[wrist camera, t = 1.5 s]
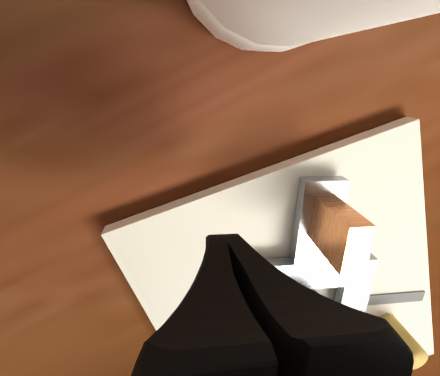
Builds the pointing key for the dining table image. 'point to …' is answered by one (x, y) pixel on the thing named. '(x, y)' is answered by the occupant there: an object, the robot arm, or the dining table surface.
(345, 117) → the dining table surface
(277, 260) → the grey metal bracket
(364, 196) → the base board
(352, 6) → the bottle
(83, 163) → the dining table surface
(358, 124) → the dining table surface
